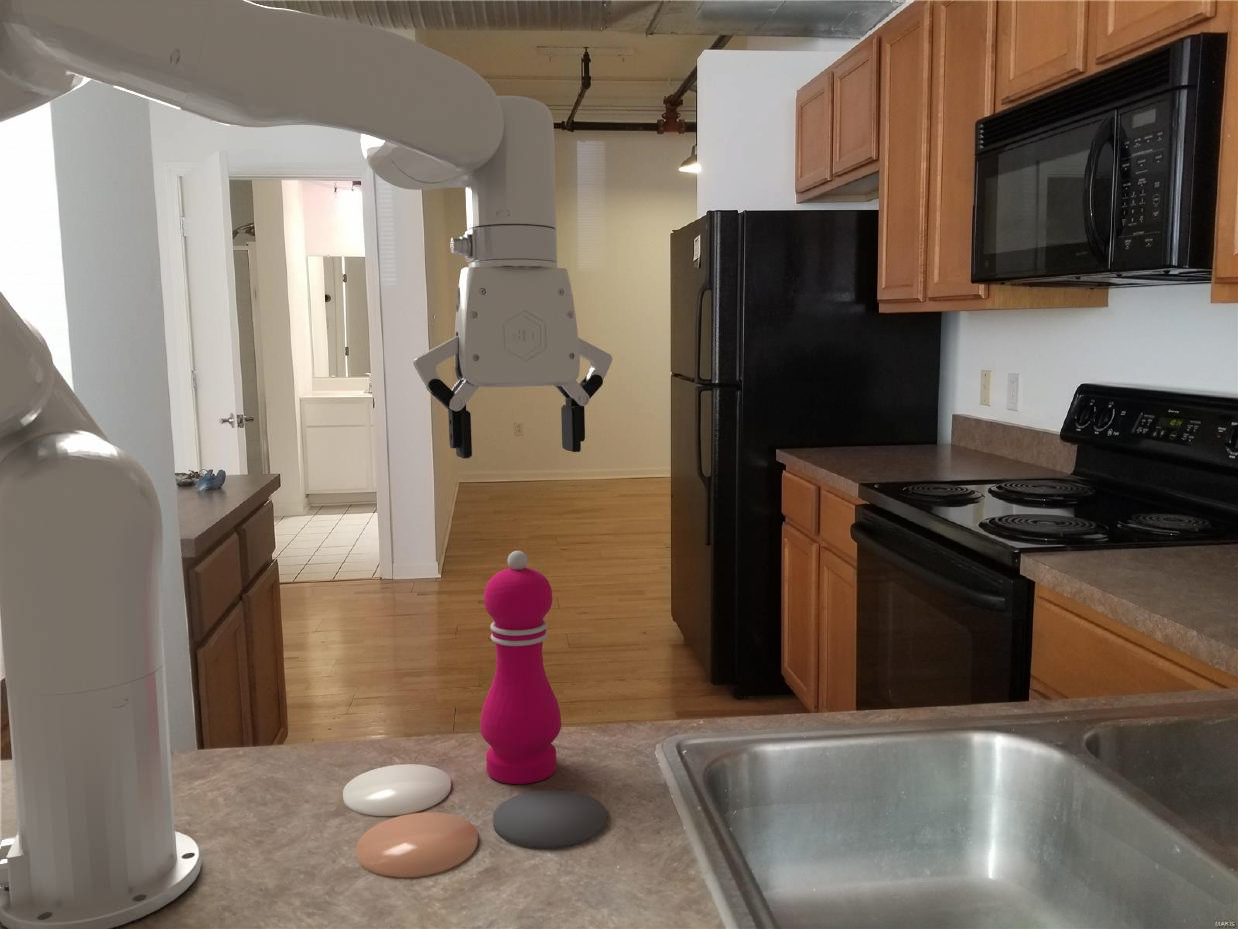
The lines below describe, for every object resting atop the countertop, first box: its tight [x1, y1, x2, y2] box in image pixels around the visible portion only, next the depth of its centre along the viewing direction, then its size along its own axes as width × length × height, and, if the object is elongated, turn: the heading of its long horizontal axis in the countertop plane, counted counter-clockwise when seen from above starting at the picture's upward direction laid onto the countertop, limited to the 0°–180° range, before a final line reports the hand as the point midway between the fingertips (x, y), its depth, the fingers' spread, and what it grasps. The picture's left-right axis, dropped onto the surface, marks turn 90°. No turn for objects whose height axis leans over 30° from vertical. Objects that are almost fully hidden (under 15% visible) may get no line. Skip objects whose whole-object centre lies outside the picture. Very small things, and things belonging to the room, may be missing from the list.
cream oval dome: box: [342, 763, 452, 817], centre depth 82 cm, size 9×9×1 cm
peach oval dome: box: [355, 811, 478, 878], centre depth 73 cm, size 9×9×1 cm
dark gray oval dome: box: [492, 789, 607, 850], centre depth 77 cm, size 9×9×1 cm
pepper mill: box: [479, 550, 562, 785], centre depth 85 cm, size 7×7×20 cm
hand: (518, 453), depth 83 cm, fingers open, 9 cm apart
